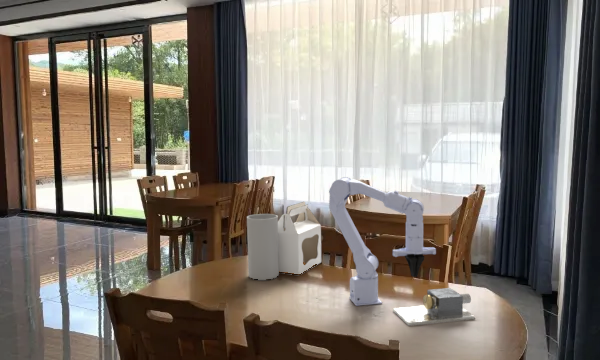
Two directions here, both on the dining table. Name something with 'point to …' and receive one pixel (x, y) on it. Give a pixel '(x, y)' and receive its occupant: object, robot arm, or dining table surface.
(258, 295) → the dining table surface
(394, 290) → the dining table surface
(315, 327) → the dining table surface
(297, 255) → the gable box
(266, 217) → the cylinder vase
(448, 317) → the bearing block
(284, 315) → the dining table surface
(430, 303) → the shaft
